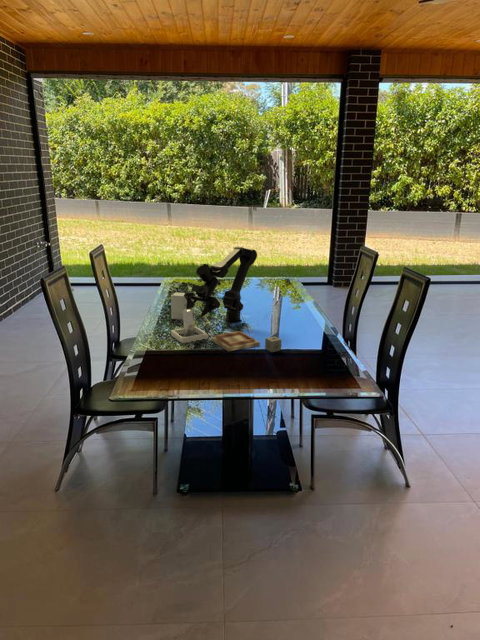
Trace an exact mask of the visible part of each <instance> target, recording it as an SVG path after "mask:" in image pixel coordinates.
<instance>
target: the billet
mask: <svg viewBox="0 0 480 640" xmlns="http://www.w3.org/2000/svg"><path fill="white" fill-rule="evenodd" d="M182 321H183V328H184V334H183V337H188V336H194V335H195V333H196V332H195V330H194V327H195V310H194V309H193V308H192V309H185V310H183V320H182Z"/></svg>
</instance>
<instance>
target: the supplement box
mask: <svg viewBox="0 0 480 640" xmlns="http://www.w3.org/2000/svg"><path fill="white" fill-rule="evenodd" d="M184 294H185V292H174V293H172V294H171V295H170V305H171V306H170V309H171V310H170V312H171V318H170V319H172V320H181V319H182V321H183V310H185V309H186V306H187V300H186V299H185V297H184Z"/></svg>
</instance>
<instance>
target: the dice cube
mask: <svg viewBox="0 0 480 640" xmlns="http://www.w3.org/2000/svg"><path fill="white" fill-rule="evenodd" d="M264 339H265V341H264V343H265V344H264V349H265V350H266V351H268V352H270V353H274V352H279V351H282V339H281V338H279V337H276V335H275V336H271V337H270V336H269V337H265V338H264Z"/></svg>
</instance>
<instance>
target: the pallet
mask: <svg viewBox="0 0 480 640" xmlns="http://www.w3.org/2000/svg"><path fill="white" fill-rule="evenodd" d="M211 341H212V342H213V343H214V344H216V345H218V346H219V347H220V348H222V349H224V350H226V351H227V352H232V351H236V350H237V351H238V350H242V349H248V348H252V347H259V346H260V345H261V344H260V343H261V342H260V341H259V340H256V339H255V338H254V337H251V336H250V335H248V334H246V333H244V332H243V331H234V332H233V331H232V332H226V333H222V334H217V335H216V336H212V337H211Z"/></svg>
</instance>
